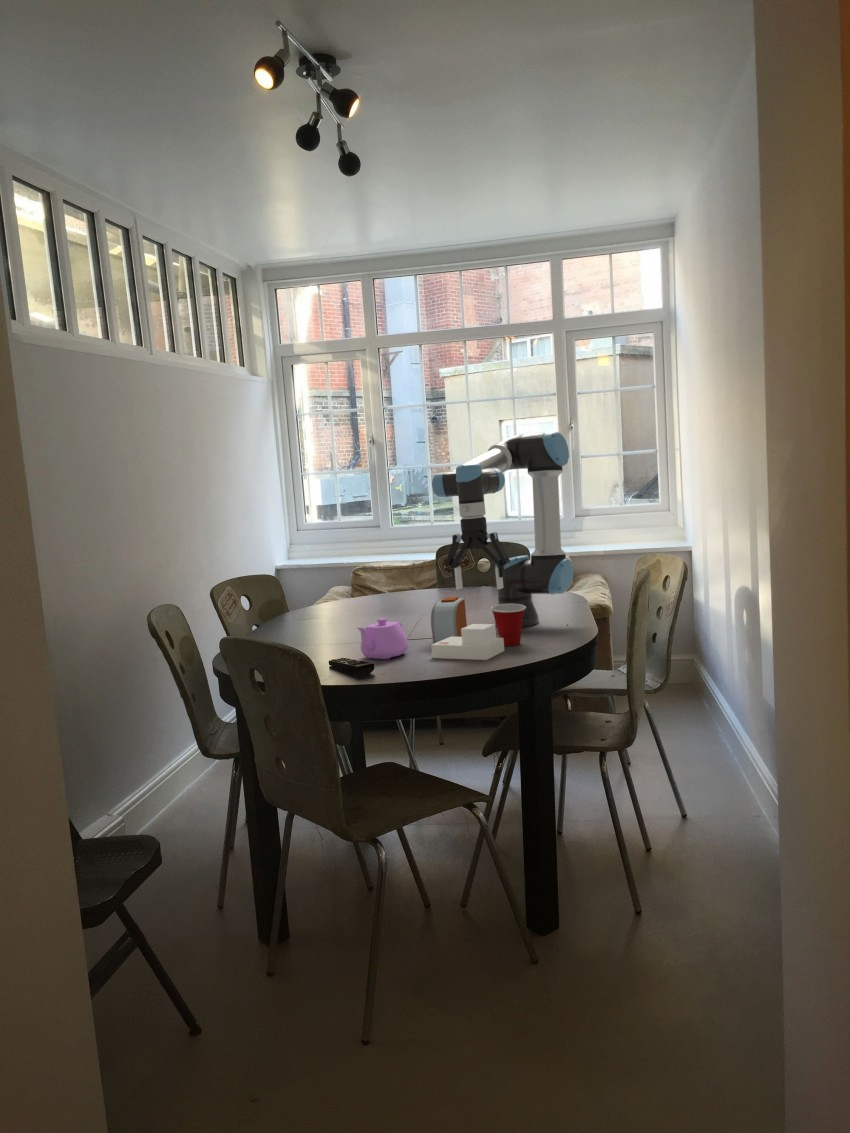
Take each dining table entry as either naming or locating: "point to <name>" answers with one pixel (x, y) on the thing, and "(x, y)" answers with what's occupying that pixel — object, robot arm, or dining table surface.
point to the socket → (466, 649)
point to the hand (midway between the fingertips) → (479, 588)
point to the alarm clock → (448, 618)
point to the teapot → (383, 640)
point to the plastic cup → (509, 622)
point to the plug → (478, 634)
